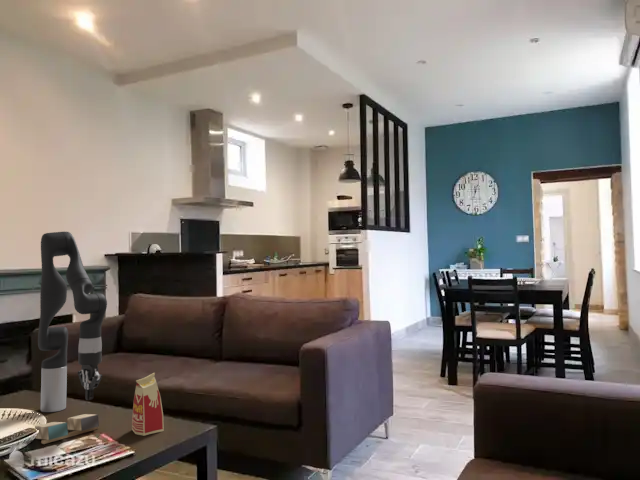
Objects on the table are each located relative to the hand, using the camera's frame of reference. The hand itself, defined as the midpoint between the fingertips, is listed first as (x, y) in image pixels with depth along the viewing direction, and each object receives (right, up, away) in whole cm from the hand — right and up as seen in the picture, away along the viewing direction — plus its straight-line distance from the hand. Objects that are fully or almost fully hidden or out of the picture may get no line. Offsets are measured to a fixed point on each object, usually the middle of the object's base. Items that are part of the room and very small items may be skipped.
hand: (89, 399), depth 177 cm
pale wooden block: (+1, -8, -1) cm, 8 cm away
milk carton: (+20, -12, 0) cm, 23 cm away
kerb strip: (-4, -11, -4) cm, 13 cm away
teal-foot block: (-6, -7, -10) cm, 14 cm away
